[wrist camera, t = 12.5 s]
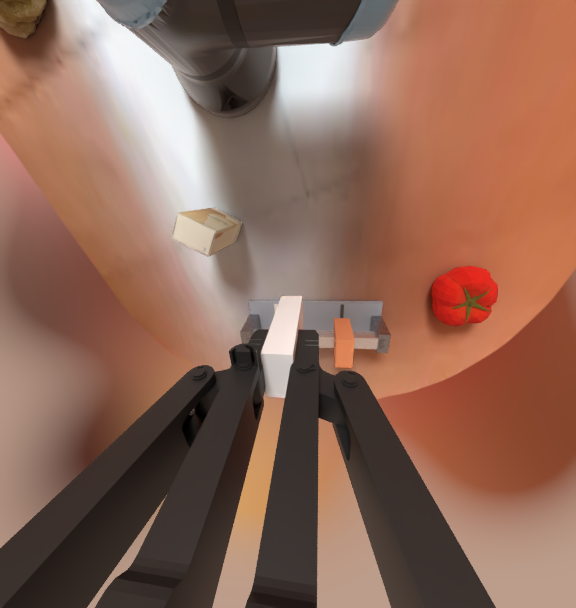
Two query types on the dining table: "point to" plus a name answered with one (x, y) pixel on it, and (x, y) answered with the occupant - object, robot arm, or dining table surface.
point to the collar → (343, 343)
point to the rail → (363, 339)
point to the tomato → (464, 296)
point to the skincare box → (206, 230)
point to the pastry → (21, 16)
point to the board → (322, 313)
